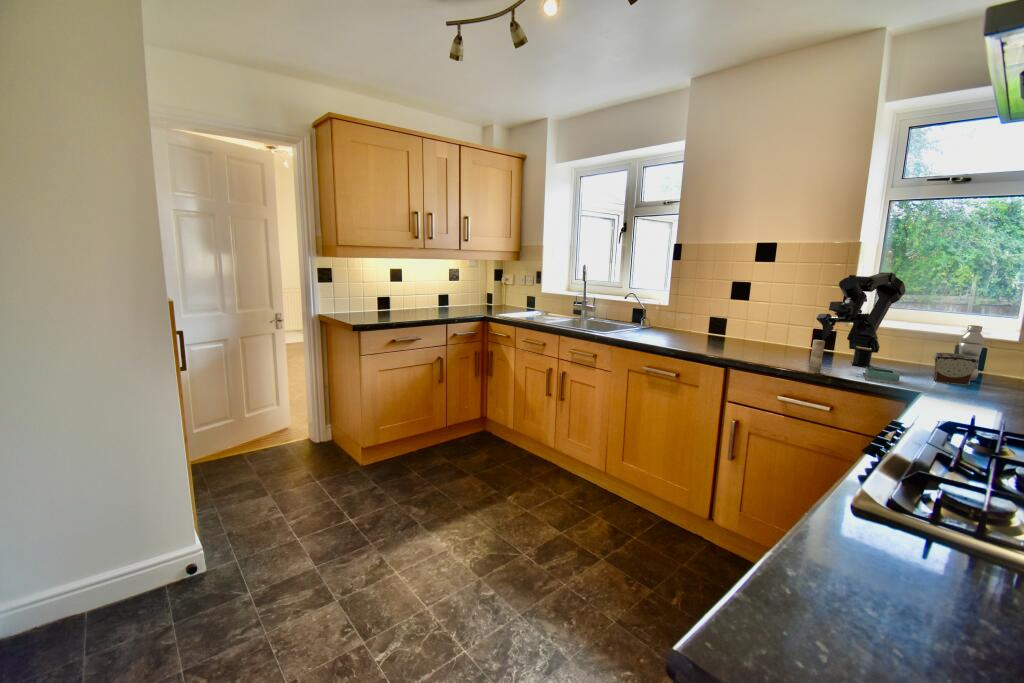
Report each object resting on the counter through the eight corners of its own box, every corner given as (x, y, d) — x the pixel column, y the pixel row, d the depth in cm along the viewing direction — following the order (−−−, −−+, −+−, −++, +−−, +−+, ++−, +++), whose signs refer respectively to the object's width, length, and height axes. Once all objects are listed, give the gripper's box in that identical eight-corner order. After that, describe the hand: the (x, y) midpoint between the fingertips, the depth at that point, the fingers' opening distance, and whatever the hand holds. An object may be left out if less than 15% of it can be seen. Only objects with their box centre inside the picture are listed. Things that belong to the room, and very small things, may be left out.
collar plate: (862, 374, 171) (863, 366, 170) (896, 379, 165) (898, 370, 165) (864, 379, 162) (866, 370, 162) (901, 385, 157) (903, 375, 156)
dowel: (808, 370, 174) (813, 339, 171) (819, 372, 172) (825, 340, 170) (808, 372, 171) (813, 340, 168) (819, 374, 169) (825, 341, 167)
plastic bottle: (981, 383, 164) (993, 327, 161) (959, 381, 166) (971, 326, 162) (967, 378, 171) (979, 325, 167) (946, 377, 172) (957, 324, 168)
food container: (963, 381, 166) (969, 354, 164) (973, 385, 160) (980, 357, 158) (921, 377, 170) (926, 351, 168) (930, 381, 164) (935, 354, 162)
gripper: (817, 293, 181) (799, 326, 179) (867, 291, 164) (849, 327, 162) (832, 309, 185) (816, 342, 183) (884, 309, 167) (866, 345, 165)
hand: (835, 339), depth 173 cm, fingers open, 9 cm apart
